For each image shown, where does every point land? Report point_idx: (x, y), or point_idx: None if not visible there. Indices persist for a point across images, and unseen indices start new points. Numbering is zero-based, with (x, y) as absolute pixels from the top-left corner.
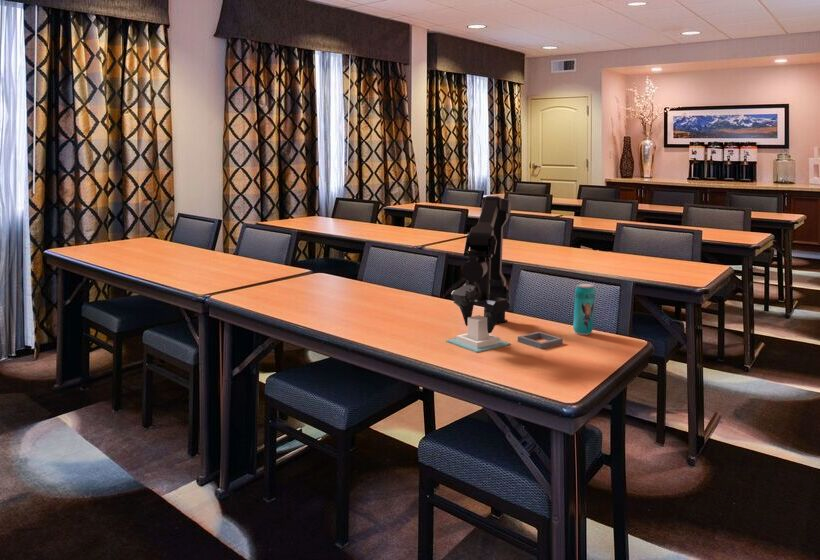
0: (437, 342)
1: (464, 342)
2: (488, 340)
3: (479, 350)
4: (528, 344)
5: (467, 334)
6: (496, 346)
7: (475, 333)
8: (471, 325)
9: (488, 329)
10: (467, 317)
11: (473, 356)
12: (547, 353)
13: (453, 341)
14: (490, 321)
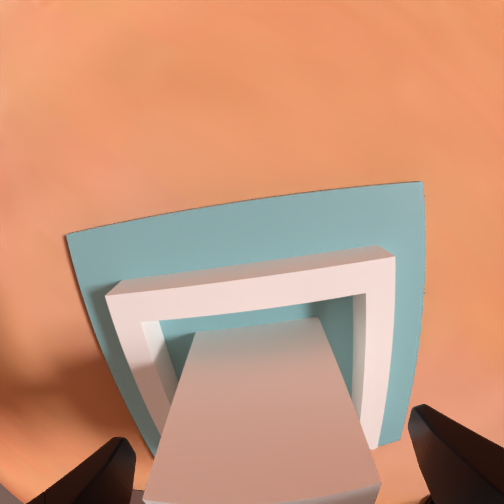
0: (424, 113)
1: (269, 263)
2: (143, 399)
3: (76, 263)
4: (137, 491)
5: (326, 346)
6: (123, 398)
7: (212, 382)
8: (281, 428)
9: (99, 454)
10: (444, 468)
11: (28, 173)
12: (39, 457)
13: (366, 212)
14: (35, 501)
